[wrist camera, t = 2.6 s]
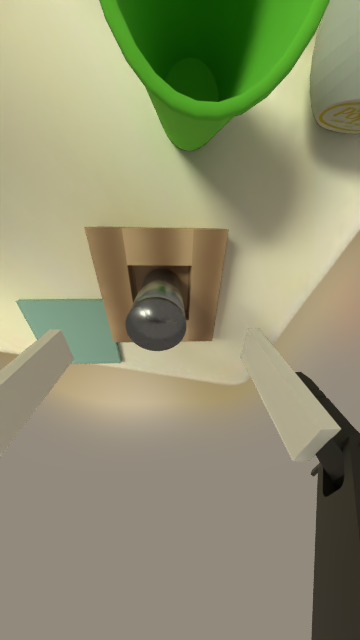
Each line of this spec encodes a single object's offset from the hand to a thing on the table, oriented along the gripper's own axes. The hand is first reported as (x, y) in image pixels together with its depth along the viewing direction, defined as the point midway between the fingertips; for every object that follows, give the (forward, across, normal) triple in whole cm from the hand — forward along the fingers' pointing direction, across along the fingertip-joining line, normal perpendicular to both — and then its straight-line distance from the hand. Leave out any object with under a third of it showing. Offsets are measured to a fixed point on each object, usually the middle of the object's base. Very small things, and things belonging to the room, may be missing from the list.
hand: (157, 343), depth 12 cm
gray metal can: (+12, 0, 0) cm, 12 cm away
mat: (+12, -14, -8) cm, 20 cm away
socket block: (+12, 0, 0) cm, 12 cm away
